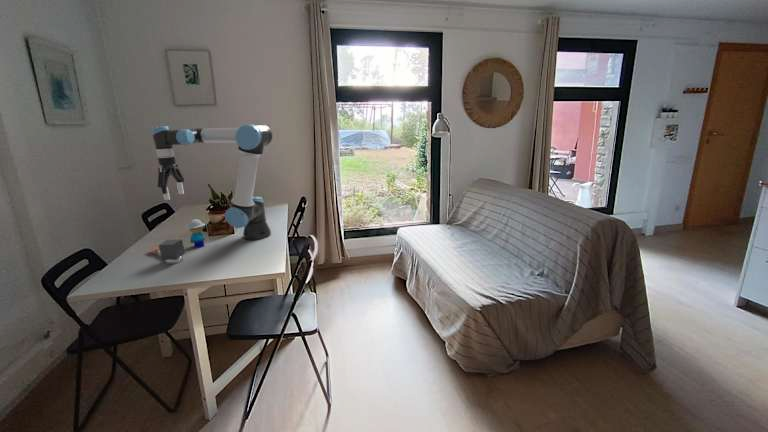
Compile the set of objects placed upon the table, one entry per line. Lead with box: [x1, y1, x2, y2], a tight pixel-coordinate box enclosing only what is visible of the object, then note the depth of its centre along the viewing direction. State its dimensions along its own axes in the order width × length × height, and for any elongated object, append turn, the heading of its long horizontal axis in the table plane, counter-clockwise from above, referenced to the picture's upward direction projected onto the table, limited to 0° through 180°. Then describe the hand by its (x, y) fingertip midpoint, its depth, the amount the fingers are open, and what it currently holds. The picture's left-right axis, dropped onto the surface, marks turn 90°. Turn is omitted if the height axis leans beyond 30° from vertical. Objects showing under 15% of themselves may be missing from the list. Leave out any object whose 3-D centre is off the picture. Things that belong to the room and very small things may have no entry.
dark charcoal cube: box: [158, 238, 186, 261], centre depth 165 cm, size 7×7×8 cm
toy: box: [186, 219, 208, 248], centre depth 185 cm, size 8×9×15 cm
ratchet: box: [149, 244, 184, 265], centre depth 172 cm, size 28×7×6 cm, turn 51°
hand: (174, 196), depth 184 cm, fingers open, 13 cm apart
